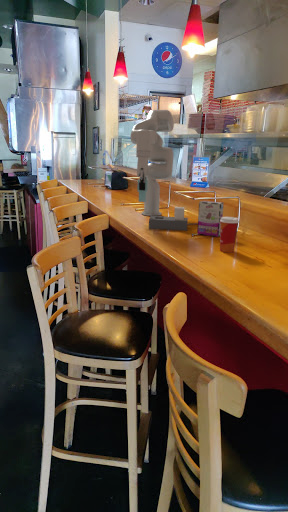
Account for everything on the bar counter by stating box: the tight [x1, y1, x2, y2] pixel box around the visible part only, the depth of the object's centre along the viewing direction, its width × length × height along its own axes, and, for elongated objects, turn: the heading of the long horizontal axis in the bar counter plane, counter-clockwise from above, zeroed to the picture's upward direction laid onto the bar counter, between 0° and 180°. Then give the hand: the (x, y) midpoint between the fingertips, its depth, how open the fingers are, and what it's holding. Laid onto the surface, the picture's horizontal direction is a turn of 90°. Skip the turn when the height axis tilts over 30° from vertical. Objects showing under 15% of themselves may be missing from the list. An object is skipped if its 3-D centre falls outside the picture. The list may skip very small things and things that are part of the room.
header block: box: [148, 206, 189, 231], centre depth 195 cm, size 10×20×11 cm, turn 83°
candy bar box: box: [197, 200, 224, 238], centre depth 181 cm, size 11×5×16 cm, turn 62°
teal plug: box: [137, 178, 148, 203], centre depth 198 cm, size 5×5×12 cm
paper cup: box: [219, 216, 240, 254], centre depth 153 cm, size 8×8×14 cm
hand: (142, 189), depth 198 cm, fingers closed on teal plug, 5 cm apart
